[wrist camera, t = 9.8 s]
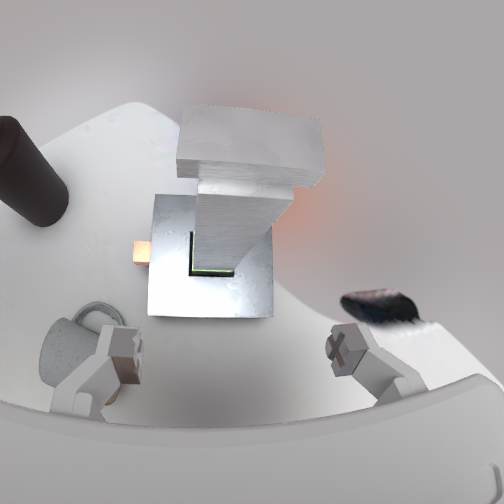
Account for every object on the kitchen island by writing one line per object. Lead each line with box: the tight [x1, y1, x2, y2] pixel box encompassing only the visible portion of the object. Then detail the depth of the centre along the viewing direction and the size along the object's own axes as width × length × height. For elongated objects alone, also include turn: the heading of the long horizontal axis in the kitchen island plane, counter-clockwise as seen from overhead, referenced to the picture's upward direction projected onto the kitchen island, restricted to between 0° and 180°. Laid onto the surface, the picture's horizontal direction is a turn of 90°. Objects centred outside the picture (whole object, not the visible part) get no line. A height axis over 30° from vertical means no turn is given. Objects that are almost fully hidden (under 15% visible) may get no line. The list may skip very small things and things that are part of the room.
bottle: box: [0, 116, 68, 227], centre depth 23 cm, size 7×7×20 cm
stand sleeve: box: [133, 194, 273, 318], centre depth 32 cm, size 14×12×6 cm
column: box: [176, 104, 326, 275], centre depth 20 cm, size 5×4×21 cm
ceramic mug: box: [39, 302, 123, 405], centre depth 27 cm, size 11×8×8 cm
